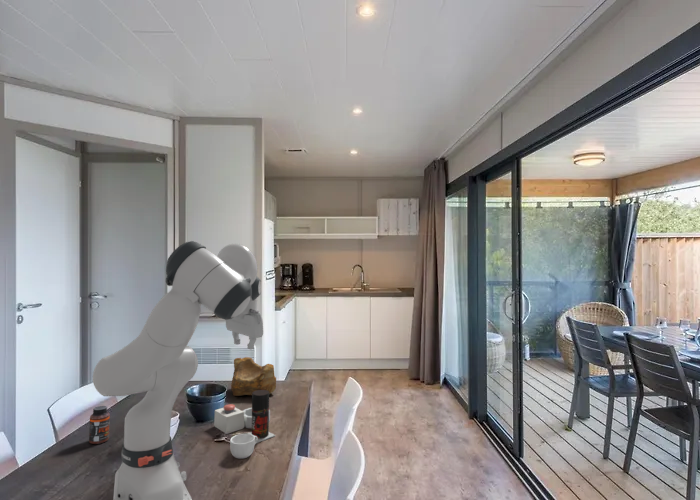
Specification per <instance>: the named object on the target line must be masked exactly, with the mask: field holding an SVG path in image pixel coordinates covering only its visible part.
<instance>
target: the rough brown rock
mask: <svg viewBox="0 0 700 500" xmlns="http://www.w3.org/2000/svg"><path fill="white" fill-rule="evenodd" d="M233 368H234V369H233V375H232V380H231V384H230V388H231V389H230V390H231V391H232V396H233V397H241V396H246V395H247V396H252V392H254V391H257V390H267V391H269V395H271V394H272V393H274V392H275V390H276V389H277V377H276V375H275V367H274V365H273V364H271V363H266V364H264V365H260V364H258V363H256V362H255V361H254V359H253V358H252V357H247V356H245V357H243V358H241V357H237V358H235V359H233Z"/></svg>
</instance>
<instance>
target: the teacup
mask: <svg viewBox="0 0 700 500" xmlns="http://www.w3.org/2000/svg"><path fill="white" fill-rule="evenodd" d="M248 433H249V432H248ZM248 433H246V432H245V433H243V432H242V433H239V434H235V435H234V436H232V437H231V438H230V440H229V445H230V446H229V447H230V453H231V454H232V456H233V458H236V459H240V460H241V459H243V460H244V459H246V458H249V457H250V456H251V455H252V454H253V453H254V448H255V445H256V444H258V443H257V441H258V437H257V436H254V435H252V434H248ZM255 437H256V441H255Z"/></svg>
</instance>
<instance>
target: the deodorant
mask: <svg viewBox="0 0 700 500" xmlns="http://www.w3.org/2000/svg"><path fill="white" fill-rule="evenodd" d="M251 408H252V428H251V432H252V435H254V436H257V437H258V439H262V438H265V437H267V436H268V435H269V432H270V431H269V430H270V428H269V427H270V421H269V410H270V394H269V391H267V390H257V391H254V392H252V395H251ZM255 439H256V437H255Z"/></svg>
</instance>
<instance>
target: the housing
mask: <svg viewBox="0 0 700 500" xmlns="http://www.w3.org/2000/svg"><path fill="white" fill-rule="evenodd" d="M224 411H225V410H224V407H221V408H218V409H214V422H213V423H214V427H215V428H217V430H220V431H221V432H223V433H224V434H225V435H226V434H227V435H228V434H230V433H234V432H236V431H239V430H240V431H241V430H243V429H245V428H246V429H252V407H248V408H245V409H243V410H241V409H239V408H238V407H236V406H235V409H234V412H233V413H229V414H226V413H224ZM270 421H271V409H269V422H270Z"/></svg>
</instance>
